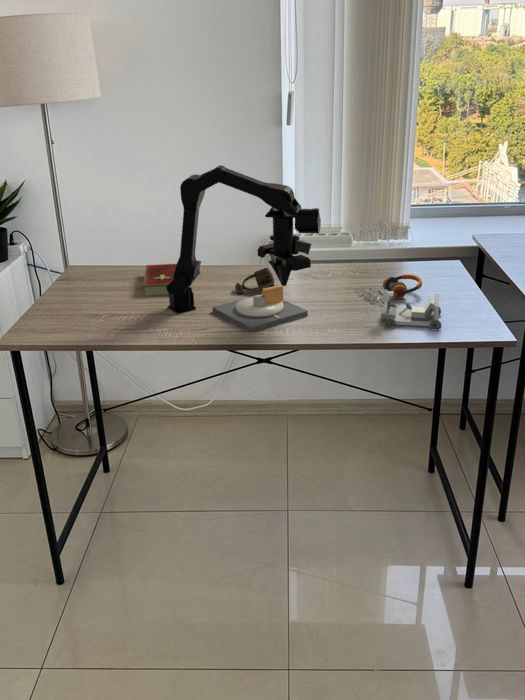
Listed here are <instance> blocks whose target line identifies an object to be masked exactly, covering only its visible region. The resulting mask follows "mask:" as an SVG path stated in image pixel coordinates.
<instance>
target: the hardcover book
mask: <svg viewBox="0 0 525 700" xmlns="http://www.w3.org/2000/svg"><path fill="white" fill-rule="evenodd" d="M176 265H177V263H164V264H163V263H160V264H146V266H145V272H144V277H143V283H142V288H144V296H160V295H162V296H163V295H169V293H168V291H167V289H166V287H167V285H168V284H169V283H170V282H171V281H172V280H173V275H174V272H175V268H176Z"/></svg>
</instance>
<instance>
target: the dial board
mask: <svg viewBox="0 0 525 700" xmlns="http://www.w3.org/2000/svg"><path fill="white" fill-rule="evenodd" d="M258 295H262V293H260V294H258ZM253 296H254V295H252V296H248V297H245V298H242V299H237V300H234V301H229V302H227V303H223V304H219V305H215V306H214V305H213V306H212V313H215V314H216V315H218V316H220V317H221V318H224V319H225V320H227V321H229V322H231V323H233V324H235V325H237V326H238V327H240V328H242V329H244V330H245V331H248V332H250V333H253V332H257V331H261V330H264V329H267V328H271V327H274V326H276V325H277V326H278V325H280V324H283V323H287V322H291V321H295V320H298V319H301V318H304V317H308V315H309V313H308V312H309V311H308V310H307V309H305V308H302V307H300V306H299V305H296V304H295V303H292V302H289V301H288V300H285V299H283V301H282V302H283V307H284V308H283V310H282V311H281V312H280V313H278V314H276V315H272V316H267V317H249V316H244V315H241V314H239V313H238V312H237V311H236V303H237V302H239V301H240V300H243V299H246V298H251V297H253Z"/></svg>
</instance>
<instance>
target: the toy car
mask: <svg viewBox="0 0 525 700" xmlns="http://www.w3.org/2000/svg"><path fill="white" fill-rule="evenodd" d="M377 293H380V294H378V296H376V297H377V300H376V301H378V302H380V301H382V302H384V303H386V305H387V306H381V307H382V308H381V312H380V318H381V319H382V318H383V319H385V320H384V326H385V327H386V328H395V326H396V325H401V326H402V325H403V326H416V327H417V326H419V327H429V328H430V329H431V330H432V329H437V330H436V331H440V330H441V328H442V322H441V321H440V320H439V316H440V315H441V313H442V309H441V307H440V293H434V298H432V297H430V299H429V300H428V301H427V303H426V305H425V306H412V305H411V304H410V303H408V302H407V303H406V304H405V308H401V307H398V306H397V305H396V304H395V303H391V297H392V296H393V293H394V292H391V291H388V290H385V289H384V290H383V291H382V292H381V291H378V290H377ZM382 302H381V303H382ZM438 315H439V316H438ZM439 329H440V330H439Z"/></svg>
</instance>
